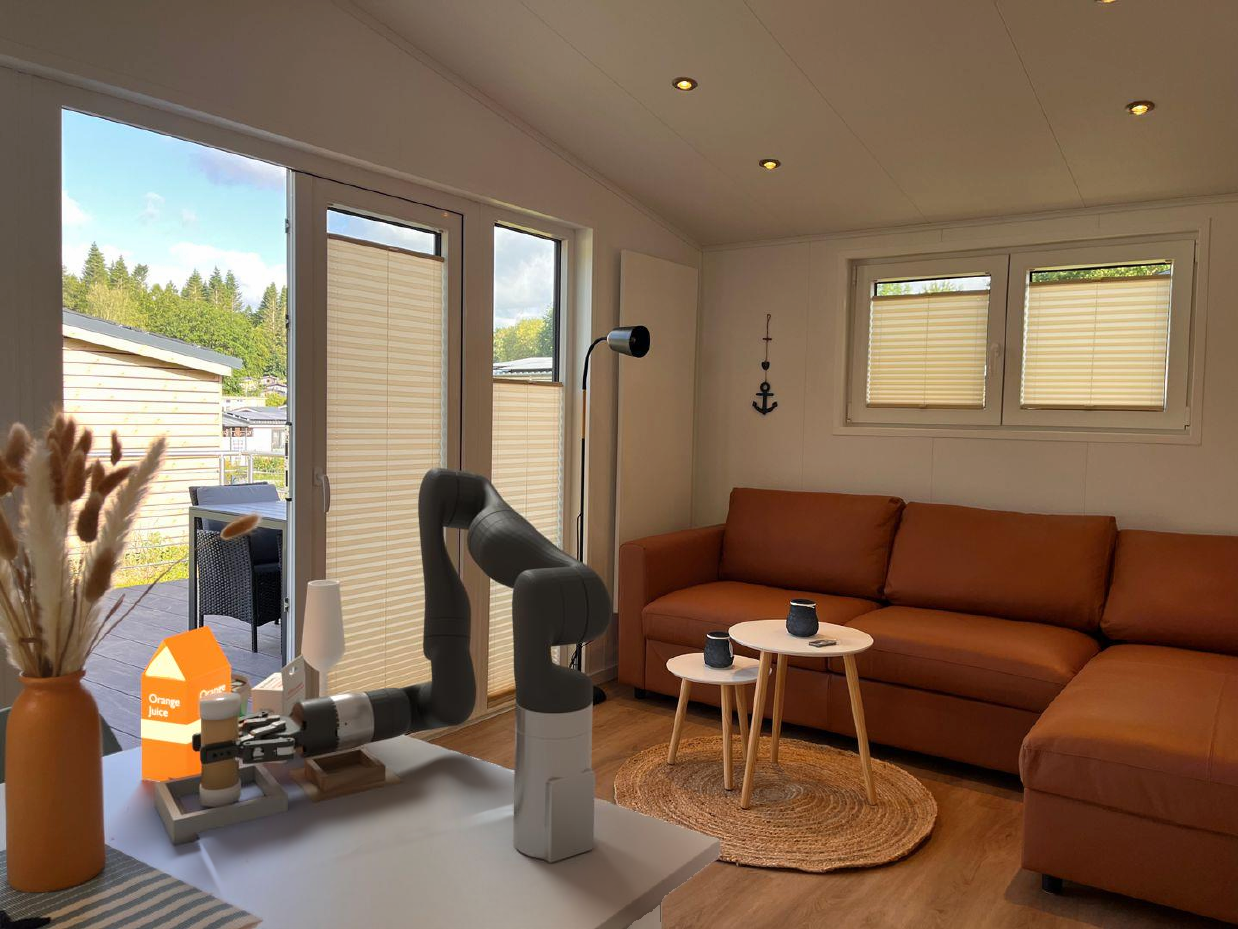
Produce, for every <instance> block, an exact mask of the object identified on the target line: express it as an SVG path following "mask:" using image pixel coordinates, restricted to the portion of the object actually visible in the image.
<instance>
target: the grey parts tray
mask: <svg viewBox="0 0 1238 929" xmlns="http://www.w3.org/2000/svg"><path fill="white" fill-rule="evenodd" d="M239 778H240V779H241V784H242V783H243V784H244V783H247V782H252V781H255V783H256V784H257V786H258V787H260V789H261V791H262V792H263V793H264V795H265V796H263V797H262V796H261V797H257V798H254V799H253V798H252V799H248V800H244V801H240V802H233V803H231V804H228V805H224V806H216V807H211V808H209V809H208V808H207V809H204V810H200V811H199V810H198V811H193V812H191V813H190V812H189V813H187V811H186V809H185V807H184V804H183V803H182V801H181V799H180V798H179V797H182V796H186V795H190V794H195V793H200V784H201V773H200V774H195V775H190V776H185V777H180V778H171V779H170V778H169V780H165V781H160V782H154V799H155V801H154V805H155V804H156V806H155V808H156V807H157V808H156V810H157V809H158V810H157V812H158V815H159V816H161V817H160V818H161V821H162V823H163V825H164V827H165V830H166V832H167V834H168V835H169V839H170V841H171V843H172V845H173V846H178V845H181V844H186V843H189V842H194V841H198V840H201V838H200V836H199V834H198V833H201V832H203V831H208V830H212V829H216V828H221V827H225V826H229V825H234V824H237V823H242V822H246V821H250V820H255V819H258V818H264V817H268V816H270V815H276V814H280V813H284V812H288V793H287V792H286V791H285V790H284V789H283V788H282V786H281V785H280V784H279V783H278V781H277V780H276V779H275V778H274V776H273V775H272V773H270V771H269V770H268V769H267V768H266V767H265V765H264V763H253V764H241V765H240V764H239Z"/></svg>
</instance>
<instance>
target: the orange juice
mask: <svg viewBox="0 0 1238 929" xmlns="http://www.w3.org/2000/svg"><path fill="white" fill-rule="evenodd" d="M231 673H232V665H231V664H230V663H229V661H228V659H227V657H226V655H225V653H224V651H223V649H222V648H221V646H220V644H219V642H218V641H217V639H216V637H215V635H214V634H213V631H212V630H211V628H210V625H209V624H208V625H205V626H202V627H199V628H195V629H191V630H188V631H185V632H183V633H178V634H175V635H172V636H170V637H167V638H166V637H165V638H163V639H162V641H161V643H160V645H159V647H158V648H157V650H156V651H155V653H154V655H153V656H152V658H151V659H150V661H149V663H148V664H147V665H146V667H145V669H144V671H143V672H142V674H141V676H140V686H141V689H140V691H141V692H140V698H141V699H140V701H141V702H140V703H141V705H140V706H141V708H140V710H141V713H140V714H141V717H140V718H141V719H140V738H141V780H142V779H151V780H156V781H165V780H170V778H171V779H175V778H180V777H185V776H190V775H195V774H200V773H201V761H200V751H199V752H195V751H194V750H193V749H192V736H193V735H194V734H195V733H200V732H201V718H200V717H199V699H200V698H201V697H203V696H206V695H209V694H213V693H220V692H231Z"/></svg>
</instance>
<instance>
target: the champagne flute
mask: <svg viewBox="0 0 1238 929" xmlns="http://www.w3.org/2000/svg"><path fill="white" fill-rule="evenodd" d="M341 597H342V596H341V587H340V581H339V580H334V579H319V580H312V581H309V582H307V590H306V600H305V609H304V616H303V617H304V618H303V627H302V628H303V630H302V637H301V647H300V648H301V649H300V653H301V654H302V655H303V658H304V662H306V663H307V664H308V665H309V666H310V667H312V668H313V669H314V670H315V671H317V672H319V673H318V674H319V680H318V681H319V682H318V685H319V687H318V688H319V695H318V698H319V697H325V696H328V671H330V670H332V669H333V667H335V665H337V664H338V663H339V662H340V661H341V659H342V658H343V657H344V654H345V652H346V642H345V631H344V621H343V609H342V599H341ZM301 654H300V655H301Z"/></svg>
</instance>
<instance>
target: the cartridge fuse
mask: <svg viewBox="0 0 1238 929" xmlns="http://www.w3.org/2000/svg"><path fill="white" fill-rule="evenodd" d="M239 713H240V695H239V694H237V693H233V692H220V693H213V694H209V695H206V696H203V697H201V698H200V699H199V717H200V718H201V746H202V745H206V744H212V743H217V742H224V741H229V740H232V741H233V743H234V740H235V739H237V738H239ZM239 766H240V761H238V760H234V758H233V759H229V760H224V761H219V762H214V763H209V764H202V763H201V784H200V792H199V803H200V805H202V806H204V807H209V808H216V807H221V806H225V805H230V804H234V803H236V802H237V801H238V800H240V798H241V796H242V783H241V779H240V778H239Z"/></svg>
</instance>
